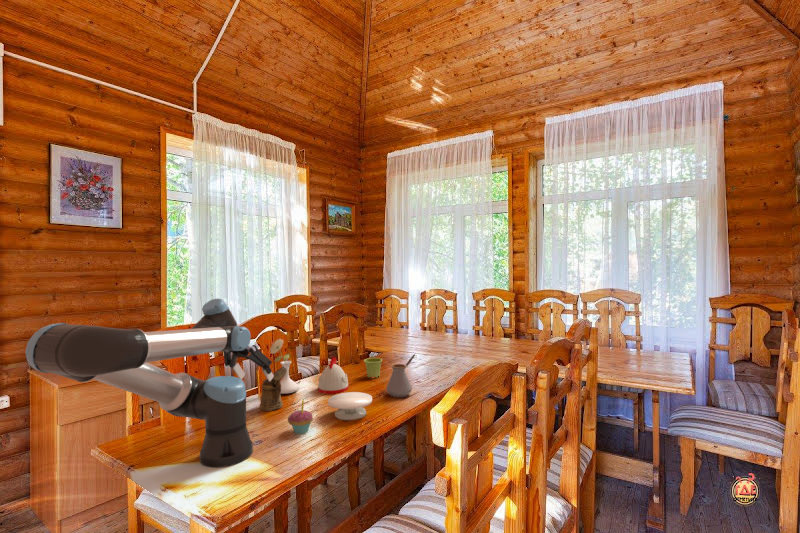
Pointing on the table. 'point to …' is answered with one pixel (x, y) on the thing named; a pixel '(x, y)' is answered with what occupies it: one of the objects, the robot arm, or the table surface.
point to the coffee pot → (399, 381)
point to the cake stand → (350, 405)
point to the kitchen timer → (333, 379)
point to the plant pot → (373, 366)
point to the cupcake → (300, 420)
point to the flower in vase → (286, 382)
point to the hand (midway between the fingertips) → (256, 377)
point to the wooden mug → (272, 392)
